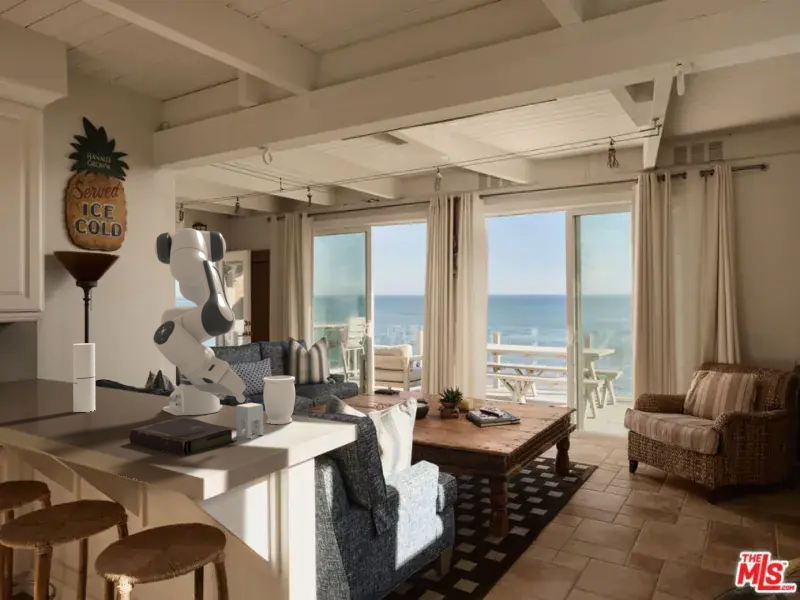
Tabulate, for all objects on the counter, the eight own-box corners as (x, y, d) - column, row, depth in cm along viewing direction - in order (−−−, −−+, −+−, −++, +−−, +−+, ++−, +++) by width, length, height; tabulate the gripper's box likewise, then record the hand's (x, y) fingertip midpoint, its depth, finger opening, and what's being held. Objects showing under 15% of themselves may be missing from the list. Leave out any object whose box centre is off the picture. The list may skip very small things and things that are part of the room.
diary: (182, 459, 147) (181, 440, 147) (129, 446, 161) (128, 428, 161) (239, 443, 163) (238, 425, 163) (186, 432, 177) (185, 416, 177)
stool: (236, 436, 169) (236, 405, 169) (251, 432, 173) (251, 402, 173) (247, 439, 165) (247, 407, 165) (263, 435, 170) (263, 404, 170)
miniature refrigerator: (88, 412, 206) (88, 344, 206) (69, 413, 206) (68, 344, 206) (99, 409, 213) (98, 343, 214) (80, 409, 214) (80, 343, 214)
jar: (287, 426, 182) (287, 379, 182) (258, 425, 184) (257, 379, 184) (300, 419, 193) (299, 375, 193) (271, 418, 195) (271, 375, 195)
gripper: (174, 375, 161) (205, 404, 169) (216, 380, 148) (247, 411, 156) (188, 358, 164) (218, 387, 172) (230, 362, 152) (260, 393, 159)
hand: (232, 399), depth 164 cm, fingers open, 8 cm apart
